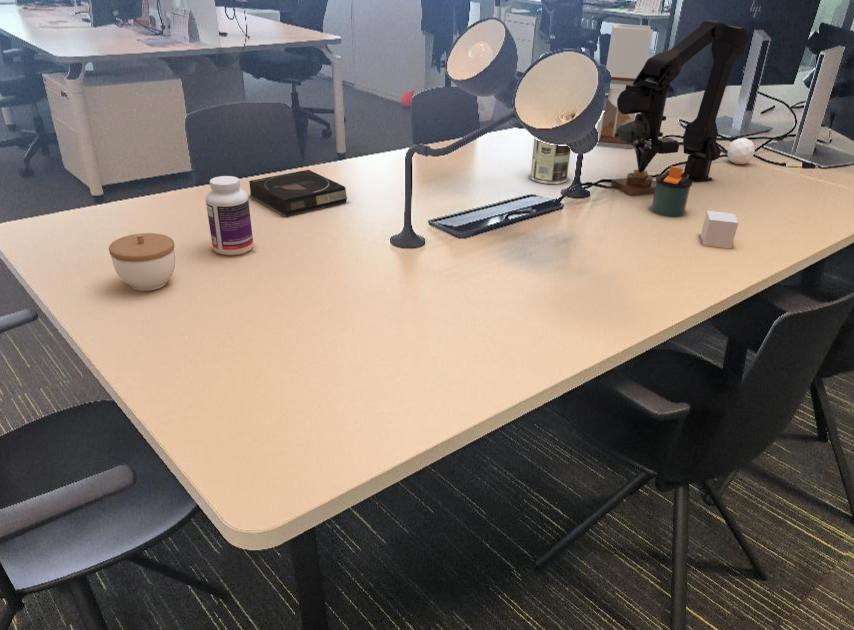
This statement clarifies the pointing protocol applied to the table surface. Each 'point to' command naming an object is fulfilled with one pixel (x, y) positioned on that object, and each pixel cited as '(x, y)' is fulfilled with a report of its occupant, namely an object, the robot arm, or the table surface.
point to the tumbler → (671, 196)
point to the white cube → (719, 229)
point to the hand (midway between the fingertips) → (640, 171)
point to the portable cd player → (297, 192)
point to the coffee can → (549, 163)
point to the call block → (635, 185)
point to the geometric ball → (741, 151)
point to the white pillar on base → (622, 76)
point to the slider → (674, 175)
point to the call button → (640, 174)
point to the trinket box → (144, 260)
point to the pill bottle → (229, 216)
